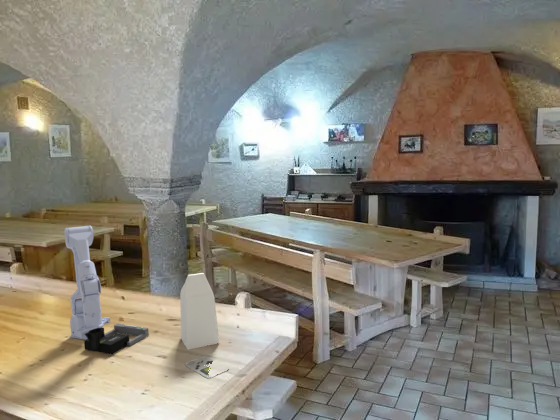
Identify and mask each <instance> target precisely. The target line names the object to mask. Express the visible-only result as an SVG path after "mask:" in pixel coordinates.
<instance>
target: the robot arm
mask: <svg viewBox="0 0 560 420" xmlns="http://www.w3.org/2000/svg"><path fill="white" fill-rule="evenodd" d="M63 235H64V241H65V246H66V248H67V249H70V250H71V252H72V253H73V261H74V271H75V280H76V289H77V290H76V291H75V292H74V293H72V294H71V296H70V311H71V314H72V315H71V317H70V320H69V324H70V335H69V338H73V339H79V340H86V339H88V340H89V342H90V344H91V347H92V349H98V348H99V344H100V340H101V336H102V334H103V332H104V333H105V328H104V325H106V324H110V323H111V317H109V316H105V317H102V308H101V295H100V294H101V293H102V285H101V281H100V279H99V278H100V277H99V275H97V269H96V266H95V263H94V262H93V261H92V260H91V258H90V257H91V256H90V246H92V244H93V242H94V238H95V237H94V228H93V227H92V226H91V224H89V225H85V226H83V225H82V226H74V227H73V226H72V227H65V228H64V234H63Z"/></svg>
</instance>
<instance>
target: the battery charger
mask: <svg viewBox="0 0 560 420" xmlns="http://www.w3.org/2000/svg"><path fill="white" fill-rule="evenodd" d="M104 334H105V331H104V332H103V334H102V336H101V340H100V344H99V348H98V349H92V347H91V344H90V342H89V340H88V339H86V340H84V339H83V340H84V341H83V346H84V351H90V352H93V353H99V354H106V355H111V356H112V355H114V354H116V353H117V352H119V351H121V350H122V349H124V348H126V347H128V346H127V342H128V341H130V340H131V339H130V335H128V334H121V333H115V334H114V335H111V336H109V337H105V335H104Z"/></svg>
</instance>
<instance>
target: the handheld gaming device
mask: <svg viewBox="0 0 560 420" xmlns="http://www.w3.org/2000/svg"><path fill="white" fill-rule="evenodd" d="M213 360H214V359H213V358H210V357H208V356H207V355H202V356H200V357H197V358H195V359H192V360H189V361H186V362H184V363H185V364H184V365H185V367H186V368H188V369H191V370H192V371H193V372H195V373H197V374H199V375H200V374H201V375H200V376H202V377H204V378H205V377H206V379H207V378H210V379H212V378H211V377H209V374H208V373H209V371H210V370H209V367H210V366H209V367H207V366H208V365H209V363H210V364H212V362H213ZM204 365H205V366H204ZM206 365H207V366H206ZM210 369H211V368H210ZM208 370H209V371H208ZM207 376H208V377H207Z"/></svg>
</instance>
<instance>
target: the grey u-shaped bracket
mask: <svg viewBox="0 0 560 420" xmlns="http://www.w3.org/2000/svg"><path fill="white" fill-rule="evenodd" d="M115 333H119V334H125V335H129V336H135V337H134V338H131V339H129V340H130V341H128V342H127V346H126V347H132V346H133V345H134V344H137V343H138V342H140V341H142V340H143V339H145V338H146V337H148V336H149V335H150V334H149V327H143V326H137V325H131V324H124V323H123V324H122V323H116V324H114V325H113V329H112V330H110V331H107V332H106V333H105V332H104V335H105V337H109V336H111V335H114V334H115Z"/></svg>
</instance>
